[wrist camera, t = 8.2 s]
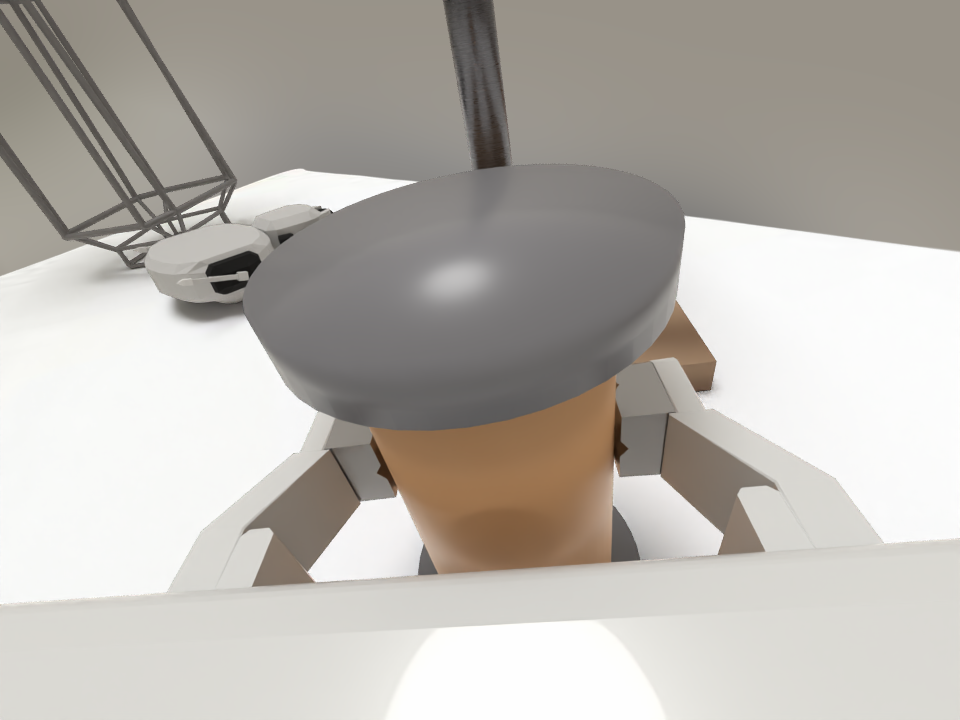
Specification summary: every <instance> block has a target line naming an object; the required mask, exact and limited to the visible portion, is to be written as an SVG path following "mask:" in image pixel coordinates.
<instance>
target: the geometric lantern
mask: <svg viewBox="0 0 960 720" xmlns="http://www.w3.org/2000/svg"><path fill="white" fill-rule="evenodd" d="M31 1H35V3H36V5H37V6H38V8H39V9H40V11H41V12H42V14H43V15H44V17H45V18H46V20H47V22H48V23H49V25H50V26H51V28H52V29H53V31H54V32H55V34H56V36H57V37H58V39H59V40H60V41H61V43H62V45H63V46H64V48H65V49H66V51H67V52H68V54H69V55H70V57H71V58H72V60H73V61H74V62H73V61H72V60H71V58H70V57H69V55H68V54H67V52H66V51H65V50H64V48H63V47H62V45H61V44H60V42H59V41H58V40H57V38H56V37H55V35H54V34H53V33H52V31H51V30H50V28H49V27H48V26H47V24H46V23H45V21H44V20H43V19H42V17H41V15H40V14H39V13H38V11H37V10H36V8H35V7H34V5H33V4H32V3H31ZM117 2H118V3H119V5H120V7H121V8H122V10H123V11H124V13H125V15H126V16H127V18H128V19H129V21H130V22H131V24H132V26H133V27H134V29H135V30H136V32H137V33H138V35H139V36H140V38H141V40H142V41H143V43H144V44H145V46H146V48H147V49H148V51H149V52H150V54H151V55H152V57H153V58H154V60H155V62H156V63H157V65H158V67H159V68H160V70H161V72H162V73H163V75H164V77H165V78H166V80H167V81H168V83H169V85H170V87H171V88H172V90H173V92H174V93H175V95H176V97H177V98H178V100H179V102H180V103H181V105H182V107H183V109H184V110H185V112H186V114H187V115H188V117H189V119H190V120H191V122H192V124H193V125H194V127H195V129H196V131H197V132H198V134H199V136H200V137H201V139H202V141H203V142H204V144H205V145H206V147H207V149H208V151H209V152H210V154H211V156H212V158H213V159H214V161H215V162H216V164H217V166H218V167H219V169H220V171H221V173H222V174H223V175H220V176H215V177H211V178H207V179H202V180H198V181H193V182H188V183H184V184H180V185H175V186H170V187H166V188H164V187H163V186H162V184H161V183H160V181H159V180H158V178H157V176H156V175H155V174H154V172H153V170H152V169H151V167H150V166H149V164H148V163H147V161H146V160H145V158H144V157H143V155H142V154H141V152H140V151H139V149H138V148H137V146H136V145H135V143H134V141H133V140H132V139H131V137H130V136H129V134H128V132H127V131H126V129H125V128H124V126H123V125H122V123H121V122H120V120H119V119H118V117H117V116H116V114H115V113H114V111H113V110H112V108H111V106H110V105H109V104H108V102H107V100H106V99H105V97H104V96H103V94H102V93H101V91H100V90H99V89H98V87H97V85H96V84H95V82H94V81H93V79H92V78H91V76H90V75H89V73H88V71H87V70H86V69H85V67H84V65H83V64H82V62H81V61H80V59H79V58H78V56H77V55H76V53H75V52H74V50H73V49H72V47H71V46H70V44H69V43H68V41H67V40H66V38H65V37H64V35H63V34H62V32H61V31H60V29H59V27H58V26H57V25H56V23H55V22H54V20H53V18H52V17H51V16H50V14H49V13H48V11H47V9H46V8H45V6H44V5H43V3H42V2H41V0H0V4H10V5H11V7H12V8H13V10H14V11H15V13H16V14H17V16H18V18H19V19H20V21H21V22H22V24H23V25H24V27H25V29H26V30H27V32H28V33H29V35H30V36H31V38H32V40H33V41H34V43H35V44H36V46H37V47H38V49H39V51H40V52H41V54H42V55H43V57H44V58H45V60H46V62H47V63H48V65H49V66H50V68H51V69H52V71H53V73H54V74H55V76H56V77H57V79H58V80H59V82H60V83H61V85H62V87H63V88H64V90H65V91H66V93H67V95H68V96H69V97H70V99H71V101H72V102H73V104H74V106H75V107H76V109H77V110H78V112H79V113H80V115H81V117H82V118H83V120H84V121H85V123H86V124H87V126H88V128H89V129H90V131H91V132H92V134H93V135H94V137H95V139H96V140H97V142H98V143H99V145H100V146H101V148H102V150H103V151H104V153H105V154H106V156H107V157H108V159H109V161H110V162H111V164H112V165H113V167H114V168H115V170H116V172H117V173H118V175H119V176H120V178H121V180H122V181H123V183H124V184H125V186H126V188H127V189H128V191H129V193H130V194H131V196H132V198H130V199H129V198H128V196H127V195H126V193H125V192H124V190H123V189H122V187H121V186H120V184H119V183H118V182H117V180H116V178H115V177H114V175H113V174H112V173H111V171H110V170H109V168H108V167H107V165H106V164H105V162H104V161H103V159H102V158H101V156H100V155H99V153H98V152H97V150H96V149H95V147H94V146H93V144H92V143H91V142H90V140H89V139H88V137H87V136H86V134H85V133H84V131H83V130H82V128H81V127H80V125H79V124H78V122H77V121H76V119H75V118H74V116H73V115H72V113H71V112H70V111H69V109H68V107H67V106H66V105H65V103H64V102H63V100H62V99H61V97H60V96H59V94H58V93H57V91H56V90H55V88H54V87H53V85H52V84H51V82H50V81H49V80H48V78H47V76H46V75H45V74H44V72H43V71H42V69H41V68H40V66H39V65H38V63H37V62H36V60H35V59H34V57H33V56H32V54H31V53H30V51H29V50H28V48H27V47H26V45H25V44H24V43H23V41H22V40H21V38H20V37H19V35H18V34H17V32H16V31H15V29H14V28H13V26H12V25H11V23H10V22H9V20H8V19H7V18H6V16H5V15H4V13H3V12H2V10H1V9H0V24H1V25H2V27H3V28H4V30H5V31H6V32H7V34H8V35H9V37H10V38H11V40H12V41H13V43H14V44H15V46H16V47H17V48H18V50H19V51H20V53H21V54H22V56H23V57H24V59H25V60H26V62H27V63H28V65H29V66H30V67H31V69H32V70H33V72H34V73H35V75H36V76H37V77H38V79H39V80H40V82H41V83H42V85H43V86H44V88H45V89H46V91H47V92H48V94H49V95H50V97H51V98H52V99H53V101H54V102H55V104H56V105H57V107H58V108H59V110H60V111H61V112H62V114H63V115H64V117H65V118H66V120H67V121H68V123H69V124H70V126H71V127H72V128H73V130H74V131H75V133H76V134H77V136H78V137H79V139H80V140H81V142H82V143H83V145H84V146H85V147H86V149H87V150H88V152H89V153H90V155H91V156H92V158H93V159H94V160H95V162H96V163H97V165H98V166H99V168H100V169H101V171H102V172H103V173H104V175H105V177H106V178H107V180H108V181H109V182H110V184H111V185H112V187H113V188H114V190H115V191H116V192H117V194H118V196H119V197H120V198H121V200H122V201H123V202H122V203H120V204H118V205H116V206H114V207H112V208H110V209H108V210H107V211H104V212H102V213H101V214H99V215H97V216H95V217H93V218H91V219H89V220H87V221H85V222H83V223H81V224H79V225H77V226H75V227H73V228H71V229H69V230H68V228H67V227H66V225H65V224H64V222H63V221H62V220H61V218H60V217H59V215H58V214H57V213H56V211H55V210H54V208H53V207H52V206H51V204H50V203H49V201H48V200H47V199H46V197H45V196H44V194H43V193H42V191H41V190H40V189H39V187H38V186H37V184H36V183H35V182H34V181H33V179H32V178H31V176H30V174H29V173H28V172H27V170H26V169H25V167H24V166H23V165H22V163H21V162H20V160H19V159H18V158H17V156H16V155H15V153H14V152H13V150H12V149H11V148H10V146H9V145H8V143H7V142H6V141H5V139H4V138H3V136H2V135H1V133H0V156H1V158H2V159H3V160H4V162H5V163H6V164H7V166H8V167H9V168H10V169H11V171H12V172H13V174H14V175H15V176H16V177H17V179H18V180H19V181H20V183H21V184H22V185H23V186H24V188H25V189H26V191H27V192H28V193H29V194H30V195H31V197H32V198H33V200H34V201H35V202H36V204H37V205H38V206H39V208H40V209H41V210H42V212H43V213H44V214H45V215H46V217H47V218H48V219H49V221H50V222H51V223H52V224H53V226H54V227H55V229H56V230H57V231H58V232H59V234H60V235H61V237H62V239H64V240H67V241H69V240H76V241H79V242H83V243H86V244H90V245H93V246H97V247H101V248H104V249H108V250H111V251H115V252H117V253H118V254H119V255H120V256H121V258H122V259H123V261H124V262H125V264H126V265H127V266H128V267H130V268H136V267H143V266H145V263H137V264H133V263H135V262H137V261H138V260H140V259H141V258H143V257H144V256H146V255H147V253H148V252H147V253H141V254H140V255H138V256H137V257H135V258H134V259H132V260H130V261H129V260H128V259H127V257H126V256H125V255H124V253H123V252H122V251H124V250H130V249H136V248H138V247H147V246H152V245H154V244H156V243H157V242H159V241H161V240H158V241H152V242H146V243H141V244H135V245H129V246H127V245H128V244H130V243H131V242H133V241H134V240H136V239H137V238H139V237H140V236H142V235H143V234H145V233H146V232H148V231H149V230H151V229H152V230H154V231H156V232H158V233H160V234H162V235H163V236H164V237H165V238H164V239H166V238H169V237H172V236H176V235H179V234H182V233H186V232H189V231H192V230H196V229H198V228H200V227H201V226H203V225H204V224H206V223H207V222H209V221H210V220H212V219H213V218H215V217H216V216H218V215H219V214H220V216H221V218H222V220H223V222H224V223H225V224H232V223H231V222H230V220H229V219H228V217H227V215H226V214H225V212H224V210H225V208H226V206H227V204H228V202H229V200H230V197H231V195H232V193H233V191H234V189H235V187H236V184H237V179H236V177H235V176H234V174H233V173H232V171H231V170H230V168H229V166H228V165H227V163H226V162H225V160H224V158H223V157H222V155H221V154H220V152H219V150H218V149H217V147H216V146H215V144H214V142H213V141H212V139H211V138H210V136H209V134H208V133H207V131H206V130H205V128H204V126H203V125H202V123H201V122H200V120H199V118H198V117H197V115H196V114H195V112H194V110H193V109H192V107H191V106H190V104H189V103H188V101H187V99H186V98H185V96H184V95H183V93H182V91H181V90H180V88H179V87H178V85H177V83H176V82H175V80H174V79H173V77H172V76H171V74H170V72H169V71H168V69H167V67H166V66H165V64H164V63H163V61H162V60H161V58H160V56H159V55H158V53H157V51H156V50H155V48H154V46H153V45H152V43H151V41H150V39H149V38H148V36H147V34H146V32H145V31H144V29H143V27H142V26H141V24H140V22H139V20H138V19H137V17H136V15H135V14H134V12H133V10H132V8H131V7H130V5H129V3H128V2H127V0H117ZM19 4H23V6H24V7H25V8H26V10H27V11H28V13H29V14H30V16H31V17H32V18H33V20H34V21H35V23H36V24H37V25H38V27H39V28H40V29H41V31H42V32H43V34H44V35H45V37H46V38H47V39H48V41H49V42H50V44H51V45H52V46H53V48H54V49H55V51H56V52H57V53H58V55H59V56H60V58H61V59H62V60H63V62H64V63H65V65H66V66H67V67H68V69H69V70H70V72H71V73H72V74H73V76H74V77H75V79H76V80H77V82H78V83H79V84H80V86H81V87H82V89H83V90H84V91H85V93H86V94H87V96H88V97H89V98H90V99H91V101H92V103H93V104H94V105H95V107H96V108H97V110H98V111H99V112H100V114H101V115H102V116H103V118H104V119H105V121H106V122H107V124H108V125H109V126H110V128H111V129H112V131H113V132H114V133H115V135H116V136H117V138H118V139H119V140H120V142H121V143H122V145H123V146H124V147H125V149H126V150H127V152H128V153H129V154H130V156H131V157H132V159H133V160H134V161H135V163H136V164H137V166H138V167H139V168H140V170H141V171H142V173H143V174H144V175H145V177H146V178H147V180H148V181H149V182H150V184H151V185H152V186H153V188H154V189H155V191H151V192H147V193H143V194H139V195H137V194H136V192H135V190H134V189H133V187H132V186H131V184H130V182H129V181H128V179H127V177H126V176H125V174H124V172H123V171H122V169H121V168H120V166H119V164H118V163H117V161H116V160H115V158H114V156H113V155H112V153H111V152H110V150H109V148H108V147H107V145H106V144H105V142H104V140H103V139H102V137H101V136H100V134H99V132H98V131H97V129H96V128H95V126H94V124H93V123H92V121H91V120H90V118H89V116H88V115H87V113H86V112H85V110H84V109H83V107H82V105H81V104H80V102H79V101H78V99H77V97H76V96H75V94H74V93H73V91H72V89H71V88H70V86H69V85H68V83H67V81H66V80H65V78H64V77H63V75H62V73H61V72H60V70H59V69H58V67H57V66H56V64H55V62H54V61H53V59H52V58H51V56H50V54H49V53H48V51H47V50H46V48H45V46H44V45H43V43H42V42H41V40H40V38H39V37H38V36H37V34H36V32H35V30H34V29H33V27H32V26H31V24H30V23H29V21H28V19H27V18H26V16H25V15H24V13H23V12H22V10H21V8H20V7H19ZM74 63H75V64H76V65H75V64H74ZM76 66H77V67H78V68H77V67H76ZM78 69H79V70H80V71H79V70H78ZM81 73H82V74H81ZM83 76H84V77H83ZM85 79H86V80H85ZM223 180H225V181H224V183H222V184H220V185H218V186H216V187H214V188H212V189H211V190H209V191H207V192H205V193H203V194H201V195H200V196H197V197H196V198H194V199H192V200H190V201H188V202H186V203H184V204H182V205H180V206H178V207H177V208H176V207H175V205H174V204H173V203H172V201H171V200H170V199H169V197H168V196H167V195H166V193H168V192H173V191H177V190H182V189H186V188H191V187H196V186H200V185H205V184H209V183H214V182H218V181H223ZM229 186H231V188H230V190H229V192H228V194H227V196H226V198H225V201H224V197H225V193H226V189H227V188H228V187H229ZM220 191H222V193H221V197H220V201H219V205H218V206H217V207H213V208H209V209H205V210H200V211H196V212H192V213H187V214H183V215H181V213H182V212H184V211H186V210H188V209H189V208H191V207H193V206H195V205H197V204H199V203H200V202H202V201H204V200H206V199H207V198H209V197H211V196H213V195H215V194H217V193H218V192H220ZM156 195H159V196H160V197H161V199H162V200H163V206H164V214H161V215H159V216H157V217H156V216H155V215H154V214H153V213H152V212H151V211H150V209H149V208H148V207H147V206H146V205H145V204H144V203H143V202H142V201H141V199H145V198H149V197H153V196H156ZM223 201H224V203H223ZM135 202H138V203H139V204H140V205H141V206H142V207H143V208H144V209H145V210H146V211H147V212H148V213H149V215H150V216H151V217H152V218H153V219H151V220H149V221H147V222H145V221H144V220H143V218H142V217H141V215H140V214H139V212H138V211H137V209H136V208H135V206H134V205H133V203H135ZM126 207H127V208H128V210H129V211H130V213H131V214H132V216H133V217H134V219H135V220H136V222H137V224H131V225H125V226H118V227H112V228H105V229H99V230H92V231H86V232H80V231H82V230H84V229H85V228H87V227H89V226H91V225H93V224H95V223H97V222H99V221H101V220H103V219H105V218H106V217H108V216H110V215H112V214H114V213H116V212H118V211H120V210H122V209H124V208H126ZM168 208H169V210H170V211H168ZM212 211H216V212H215V213H213V214H212V215H210V216H209V217H207V218H206V219H204V220H202V221H201V222H199V223H198V224H196V225H195V226H193V227H192V228H190V229H189V230H187V231H186V229H185V225H184V222H183V219H182V218H186V217H191V216H195V215H199V214H204V213H208V212H212ZM176 215H177V216H176ZM174 216H175V217H174ZM173 220H178V221H179V224H180V227H181V231H182V232H179V233H178V232H177V230H176V229H175V227H174V225H173V224H172V222H171V221H173ZM167 222H168V224H169V226H170V227H171V229H172V231H173V232H174V235H171V234H169V233H167V232H165V231H164V230H163V228H162V227H161V225H160V224H163V223H167ZM155 226H157V227H158V228H157V227H155ZM136 230H142V231H140V232H138V233H137V234H135V235H134V236H132V237H131V238H129V239H128V240H126V241H125V242H123V243H122V244H120V245H118V246H117V247H114V246H111V245H108V244H104V243H101V242H98V241H95V240H92V239H89V237H95V236H103V235H109V234H116V233H123V232H129V231H136ZM78 232H79V233H78Z"/></svg>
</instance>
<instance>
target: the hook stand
mask: <svg viewBox="0 0 960 720" xmlns="http://www.w3.org/2000/svg"><path fill="white" fill-rule="evenodd" d="M443 2H444V9H445V15H446V21H447V26H448V32H449V38H450V43H451V50H452V55H453V61H454V67H455V73H456V78H457V85H458V90H459V96H460V102H461V108H462V114H463V119H464V125H465V130H466V136H467V143H468V148H469V154H470V160H471V166H472V171H473V170H480V169H487V168H495V167H504V166H512V157H511V150H510V141H509V132H508V124H507V116H506V106H505V98H504V89H503V81H502V73H501V65H500V56H499V47H498V39H497V30H496V22H495V13H494V4H493V0H443Z"/></svg>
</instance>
